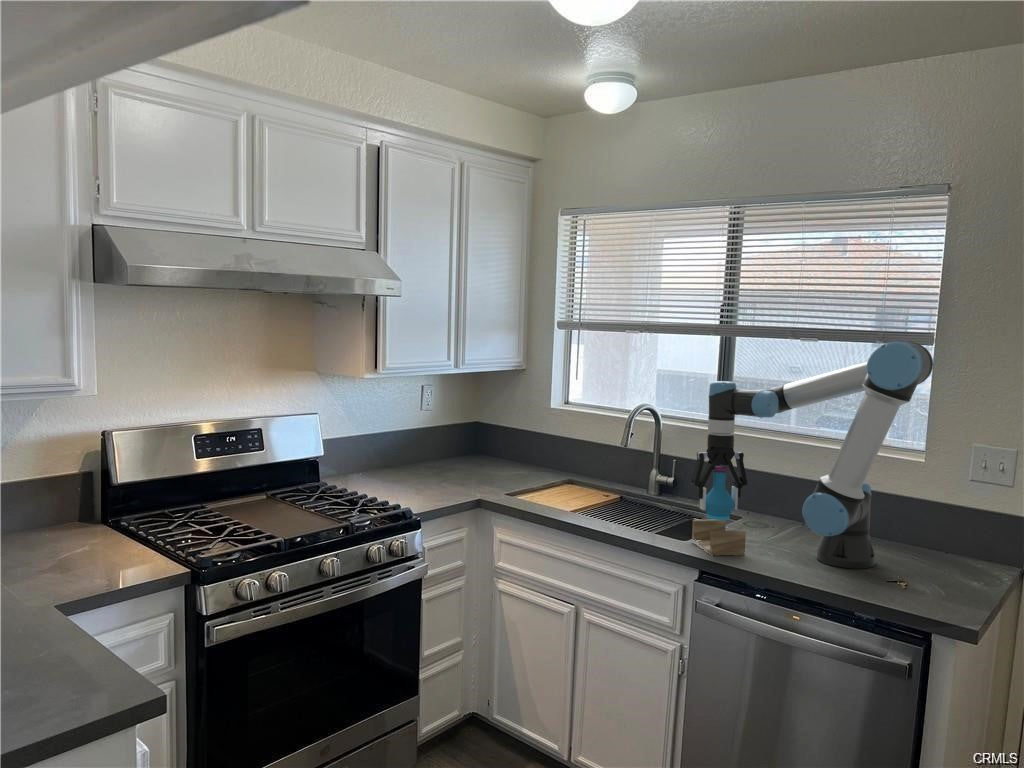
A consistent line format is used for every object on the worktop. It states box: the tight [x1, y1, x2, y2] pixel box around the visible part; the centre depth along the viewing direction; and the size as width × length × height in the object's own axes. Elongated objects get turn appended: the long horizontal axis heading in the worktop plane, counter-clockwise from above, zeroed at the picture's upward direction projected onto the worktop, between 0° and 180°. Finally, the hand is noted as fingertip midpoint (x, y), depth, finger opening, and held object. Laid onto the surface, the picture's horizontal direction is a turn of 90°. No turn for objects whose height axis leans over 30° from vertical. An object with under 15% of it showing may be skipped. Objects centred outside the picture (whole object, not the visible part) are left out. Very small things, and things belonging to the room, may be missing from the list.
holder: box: [691, 518, 747, 556], centre depth 224 cm, size 15×10×7 cm, turn 8°
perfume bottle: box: [704, 465, 735, 521], centre depth 223 cm, size 9×9×15 cm
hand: (718, 509), depth 223 cm, fingers closed on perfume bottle, 9 cm apart
